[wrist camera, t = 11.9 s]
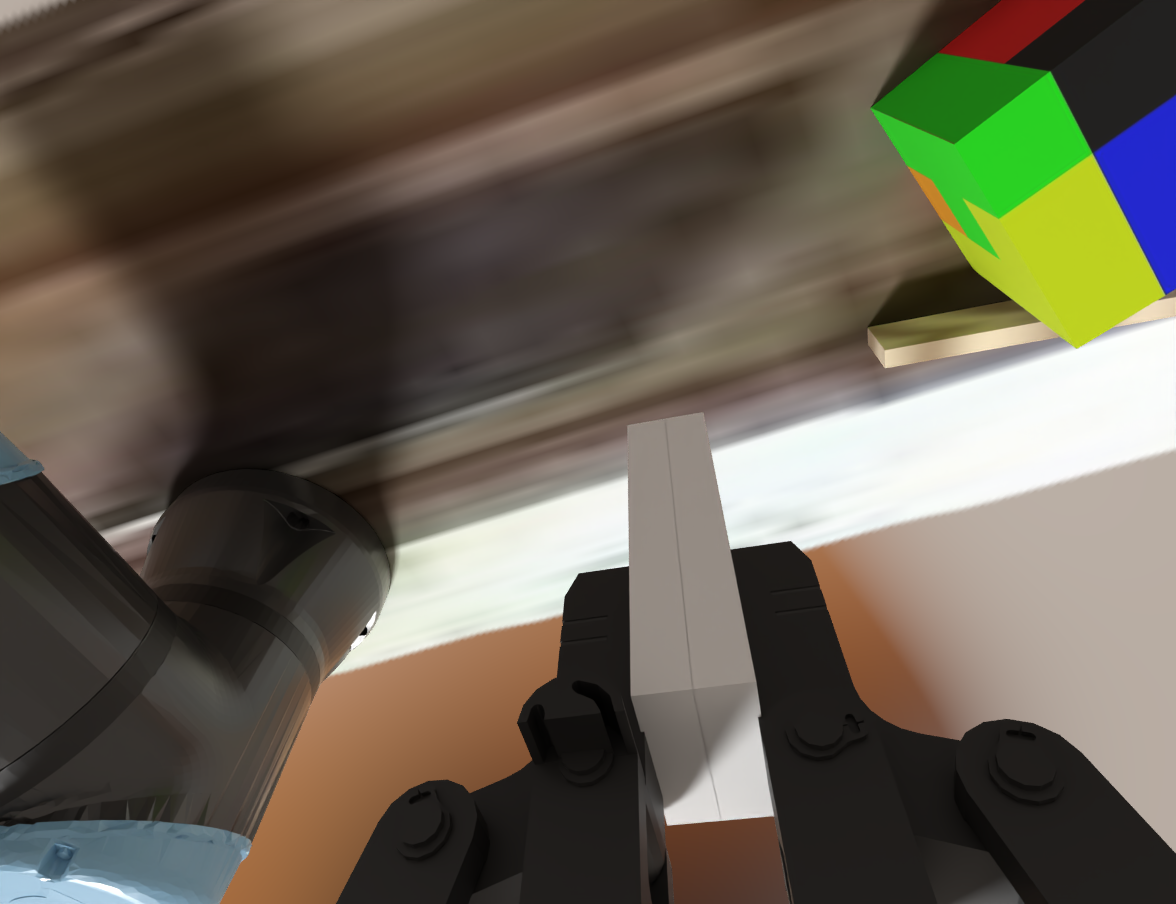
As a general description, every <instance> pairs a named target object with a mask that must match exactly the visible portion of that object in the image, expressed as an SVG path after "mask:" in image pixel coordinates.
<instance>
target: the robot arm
mask: <svg viewBox="0 0 1176 904" xmlns="http://www.w3.org/2000/svg"><path fill="white" fill-rule="evenodd" d="M43 470H44V467H43V466H42V464H41V463H40V462H39V461H36V460H31V459H28V458H27V457H26V456H25V455H24V454H23V453H22V452H21V451H20V450H19V449H18V448H17V447H16V446H15V445H14V444H13V443H12V442H10V441H9V440H8V439H7V438H6V437H5V436H4V435H3V434H2V433H1V432H0V904H219V903H220V901H221V899H222V897H223V895H224V894H225V892H226V890H227V888H228V886H229V884H230V882H231V880H232V878H233V876H234V874H235V872H236V870H237V868H238V866H239V864H240V862H241V861H242V860H244V859H245V858H246V857H247V856H248V854H249V851H250V847H251V846H252V845H251V843H252V841H253V839H254V836H255V834H256V832H257V829H258V827H259V825H260V822H261V820H262V818H263V815H264V813H265V811H266V808H267V806H268V804H269V801H270V799H271V796H272V794H273V792H274V789H275V787H276V785H277V783H278V780H279V778H280V776H281V773H282V771H283V768H284V766H285V764H286V761H287V759H288V757H289V754H290V752H291V750H292V747H293V745H294V743H295V740H296V738H297V736H298V733H299V731H300V729H301V726H302V724H303V722H304V719H305V717H306V715H307V712H308V710H309V707H310V705H311V703H312V700H313V698H314V696H315V694H316V692H317V689H318V688H319V685H320V684H321V683H322V682H323V681H324V680H325V679H326V678H327V677H328V676H329V675H330V674H331V673H332V672H333V671H334V670H335V669H336V668H337V667H338V665H339V664H340V663H341V662H342V661H343V660H344V659H345V657H346V656H347V655H348V653H349V652H350V651H351V650H353V649H354V648H355V647H356V646H358V645H359V644H360V643H361V642H362V641H363V640H364V639H365V638H366V637H367V635H368V634H369V633H370V631H371V630H372V628H373V627H374V625H375V624H376V622H377V620H378V618H379V615H380V613H381V610H382V608H383V605H384V603H385V600H386V598H387V595H388V591H389V586H390V568H389V563H388V559H387V556H386V553H385V550H384V548H383V546H382V544H381V542H380V540H379V538H378V537H377V535H376V534H375V532H374V531H373V529H372V528H371V527H370V525H369V524H368V523H367V522H366V521H365V520H364V519H363V517H362V516H361V515H360V514H359V513H358V512H356V511H355V510H354V509H353V508H352V507H351V506H349V505H348V504H347V503H346V502H344V501H343V500H342V499H340V498H339V497H337V496H336V495H334V494H332V493H331V492H329V491H327V490H325V489H324V488H322V487H320V486H318V485H316V484H313V483H311V482H309V481H306V480H304V479H301V478H298V477H295V476H291V475H288V474H284V473H280V472H274V471H268V470H258V469H239V470H230V471H224V472H220V473H216V474H213V475H210V476H207V477H205V478H202V479H200V480H198V481H197V482H195V483H193V484H192V485H190V486H189V487H188V488H187V489H185V490H184V491H183V492H182V493H181V494H180V495H179V496H178V497H177V499H176V500H175V501H174V502H173V503H172V504H171V505H170V506H169V508H168V509H167V510H166V511H165V512H164V513H163V514H162V516H161V517H160V519H159V520H158V522H157V523H156V525H155V527H154V529H153V531H152V534H151V537H150V541H149V545H148V550H147V558H146V560H145V563H144V566H143V568H142V571H141V574H140V576H139V575H138V574H137V573H136V572H135V571H134V570H133V569H132V568H131V567H130V566H129V564H128V563H127V562H126V561H125V560H124V559H123V558H122V557H121V556H120V555H119V554H118V553H117V552H116V551H115V550H114V549H113V547H112V546H111V545H110V544H109V543H108V542H107V541H106V540H105V539H104V538H103V537H102V536H101V535H100V534H99V533H98V532H97V530H96V529H95V528H94V527H93V526H92V525H91V524H90V523H89V522H88V521H87V520H86V519H85V518H84V517H83V516H82V515H81V513H80V512H79V511H78V510H77V509H76V508H75V507H74V506H73V505H72V504H71V503H70V502H69V501H68V500H67V499H66V498H65V497H64V495H63V494H62V493H61V492H60V491H59V490H58V489H57V488H56V487H55V486H54V485H53V484H52V483H51V482H50V481H49V480H48V478H47V477H46V476H45V475H44V474H43V473H42V472H41V471H43ZM628 510H629V566H628V567H621V568H614V569H607V570H600V571H593V572H586V573H579V574H578V576H577V577H576V579H575V581H574V582H573V584H572V586H571V587H570V589H569V591H568V592H567V594H566V595H565V599H564V610H563V620H562V621H563V626H562V630H561V641H560V642H561V647H560V651H559V661H558V671H557V678H555V679H553V680H551V681H549V682H548V683H546V684H544V685H543V686H541V687H540V688H538V689H537V690H536V691H535V692H534V693H533V694H532V696H531V697H530V698H529V699H528V700H527V701H526V703H525V704H524V705H523V708H522V711H521V713H520V716H519V719H518V722H517V724H518V726H519V729H520V731H521V733H522V736H523V738H524V740H525V743H526V745H527V748H528V750H529V752H530V755H531V757H532V761H531V762H530V763H528V764H527V765H526V766H525V767H524V768H522V769H521V770H520V771H518V772H516V773H514V774H512V775H511V776H509V777H507V778H505V779H502V780H500V781H498V782H495V783H493V784H491V785H488V786H486V787H484V788H481V789H479V790H477V791H474V792H472V793H469V792H468V791H467V790H466V789H465V787H464V786H462V785H460V784H457V783H455V782H452V781H449V780H437V781H428V782H425V783H423V784H420V785H418V786H416V787H413V788H411V789H409V790H408V791H407V792H405V793H404V794H403V795H401V796H400V797H399V798H398V799H397V800H395V801H394V802H393V803H392V804H391V805H390V807H389V808H388V809H387V811H386V812H385V814H384V815H383V816H382V818H381V819H380V821H379V822H378V824H377V826H376V828H375V830H374V832H373V834H372V836H371V837H370V840H369V842H368V843H367V845H366V847H365V849H364V851H363V853H362V855H361V857H360V859H359V861H358V862H357V864H356V866H355V868H354V870H353V872H352V874H351V876H350V878H349V880H348V882H347V884H346V885H345V887H344V889H343V891H342V893H341V895H340V897H339V899H338V901H337V903H336V904H674V897H673V880H672V868H671V864H670V860H669V856H668V852H667V849H666V845H665V825H664V814H665V818H666V821H667V825H677V824H688V823H699V822H711V821H722V820H733V819H745V818H756V817H767V816H774V818H775V824H776V829H777V834H778V840H779V847H780V854H781V859H782V867H783V873H784V880H785V887H786V891H787V893H788V899H789V904H1176V853H1175V852H1174V851H1173V850H1172V849H1171V848H1170V847H1169V846H1168V845H1167V844H1166V843H1165V841H1164V840H1163V839H1162V838H1161V837H1160V836H1159V835H1158V834H1157V833H1156V832H1155V831H1154V830H1153V829H1152V828H1151V826H1150V825H1149V824H1148V823H1147V822H1146V821H1145V820H1144V819H1143V818H1142V817H1141V816H1140V815H1139V814H1138V813H1137V811H1136V810H1135V809H1134V808H1133V807H1132V806H1131V805H1130V804H1129V803H1128V802H1127V801H1126V800H1125V799H1124V798H1123V797H1122V795H1121V794H1120V793H1119V792H1118V791H1117V790H1116V789H1115V788H1114V787H1113V786H1112V785H1111V784H1110V783H1109V781H1108V780H1107V779H1106V778H1105V777H1104V776H1103V775H1102V774H1101V773H1100V772H1099V771H1098V770H1097V769H1096V768H1095V767H1094V765H1093V764H1092V763H1091V762H1090V761H1089V760H1088V759H1087V758H1086V757H1085V756H1084V755H1083V754H1082V753H1081V752H1080V751H1079V750H1078V749H1076V748H1075V747H1074V746H1073V745H1071V744H1070V743H1069V742H1068V741H1066V740H1065V739H1064V738H1063V737H1061V736H1060V735H1058V734H1056V733H1054V732H1052V731H1050V730H1047V729H1045V728H1043V727H1041V726H1038V725H1036V724H1034V723H1028V722H1022V721H1016V720H1010V719H1003V720H996V721H989V722H983V723H981V724H979V725H978V726H976V727H974V728H973V729H971V730H969V731H968V732H966V733H965V734H964V736H963V738H962V740H961V741H959V740H954V739H948V738H942V737H937V736H931V735H925V734H920V733H916V732H912V731H908V730H905V729H901V728H899V727H897V726H895V725H893V724H891V723H889V722H886V721H885V720H883V719H882V718H881V717H879V716H878V715H876V714H875V713H874V712H872V711H871V710H870V709H869V708H868V707H867V706H866V704H865V703H864V702H863V701H862V700H861V699H860V697H859V695H858V693H857V691H856V690H855V687H854V685H853V683H852V680H851V677H850V674H849V671H848V668H847V665H846V662H845V659H844V656H843V653H842V650H841V647H840V644H839V641H838V638H837V635H836V632H835V630H834V627H833V623H832V620H831V618H830V615H829V612H828V610H827V607H826V603H825V600H824V597H823V594H822V591H821V590H820V585H819V582H818V579H817V576H816V573H815V570H814V567H813V564H812V561H811V560H810V559H809V558H808V557H807V556H806V555H805V554H804V553H803V552H802V551H801V550H800V549H799V548H798V547H797V546H796V545H795V544H793V543H792V542H791V541H788V542H781V543H774V544H767V545H760V546H753V547H746V548H739V549H732V550H730V546H729V541H728V536H727V531H726V526H725V521H724V515H723V510H722V505H721V500H720V495H719V490H718V485H717V480H716V475H715V470H714V465H713V460H712V455H711V449H710V444H709V439H708V434H707V429H706V424H705V419H704V414H703V412H702V413H696V414H690V415H684V416H679V417H673V418H667V419H661V420H656V421H650V422H644V423H638V424H632V425H628Z"/></svg>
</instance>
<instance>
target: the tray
mask: <svg viewBox="0 0 1176 904" xmlns="http://www.w3.org/2000/svg"><path fill="white" fill-rule="evenodd" d="M1174 316H1176V289H1175V290H1174V291H1172V292H1170V293H1169V294H1167V295H1165V296H1164V297H1162V298H1160V299H1159V300H1157V301H1155V302H1154V303H1152V304H1150V305H1149V306H1147V307H1145V308H1144V309H1142V310H1140V311H1139V312H1137V313H1135V314H1134V315H1132V316H1130V317H1129V318H1127V319H1126V320H1124V321H1122V322H1121V323H1119V324H1117V325H1116V326H1114V327H1118V326H1123V325H1129V324H1135V323H1140V322H1146V321H1151V320H1157V319H1162V318H1168V317H1174ZM1056 337H1060V336H1059V335H1058V334H1057V333H1055V332H1054V331H1053V330H1051V329H1050V328H1049V327H1047V326H1046V325H1045V324H1044V323H1042V322H1041V321H1040V320H1038V319H1037V318H1036V317H1034V316H1033V315H1032V314H1031V313H1029V312H1028V311H1027V310H1025V309H1024V308H1023V307H1021V306H1020V305H1019V304H1018V303H1016V302H1015V301H1014V300H1010V301H1005V302H1000V303H994V304H989V305H984V306H979V307H973V308H968V309H963V310H957V311H952V312H947V313H941V314H936V315H931V316H925V317H920V318H915V319H910V320H904V321H899V322H894V323H888V324H883V325H878V326H872V327H868V345H869V346H870V348H871V349H872V350H873V352H874V353H875V355H876V356H877V358H878V359H879V360H880V362H881V363H882V365H883V366H884V367H885V368H889V367H895V366H900V365H906V364H911V363H917V362H923V361H928V360H934V359H939V358H945V357H951V356H956V355H962V354H967V353H973V352H978V351H984V350H990V349H995V348H1001V347H1006V346H1012V345H1017V344H1023V343H1029V342H1034V341H1040V340H1045V339H1051V338H1056Z"/></svg>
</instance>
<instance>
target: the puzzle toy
mask: <svg viewBox="0 0 1176 904" xmlns="http://www.w3.org/2000/svg"><path fill="white" fill-rule="evenodd" d="M871 110H872V111H873V113H874V114H875V116H876V118H877V119H878V121H879V122H880V124H881V125H882V127H883V129H884V130H885V132H886V133H887V135H888V136H889V138H890V140H891V141H892V143H893V144H894V146H895V147H896V149H897V150H898V152H899V154H900V155H901V157H902V158H903V160H904V161H905V163H906V165H907V166H908V168H909V169H910V171H911V172H912V174H913V176H914V177H915V179H916V180H917V182H918V183H919V185H920V187H921V188H922V190H923V191H924V193H925V194H926V196H927V198H928V199H929V201H930V202H931V204H932V205H933V207H934V209H935V210H936V212H937V213H938V215H939V216H940V218H941V220H942V221H943V223H944V224H945V226H946V227H947V229H948V230H949V232H950V234H951V235H952V237H953V238H954V240H955V241H956V243H957V245H958V246H959V248H960V249H961V251H962V252H963V254H964V256H965V257H966V259H967V260H968V262H969V263H970V265H971V267H972V268H973V270H975V271H976V272H977V273H979V274H980V275H981V276H983V277H984V278H985V279H986V280H988V281H989V282H990V283H992V284H993V285H994V286H996V287H997V288H998V289H999V290H1001V291H1002V292H1003V293H1005V294H1006V295H1007V296H1009V297H1010V298H1011V299H1012V300H1014V301H1015V302H1016V303H1018V304H1019V305H1020V306H1021V307H1023V308H1024V309H1025V310H1027V311H1028V312H1029V313H1031V314H1032V315H1033V316H1034V317H1036V318H1037V319H1038V320H1040V321H1041V322H1042V323H1044V324H1045V325H1046V326H1047V327H1049V328H1050V329H1051V330H1053V331H1054V332H1055V333H1057V334H1058V335H1059V336H1060V337H1062V338H1063V339H1064V340H1066V341H1067V342H1068V343H1069V344H1071V345H1072V346H1073V347H1075V348H1076V349H1077V348H1079V347H1081V346H1082V345H1084V344H1086V343H1087V342H1089V341H1091V340H1092V339H1094V338H1096V337H1097V336H1099V335H1101V334H1102V333H1104V332H1106V331H1107V330H1109V329H1111V328H1112V327H1114V326H1116V325H1117V324H1119V323H1121V322H1122V321H1124V320H1126V319H1127V318H1129V317H1130V316H1132V315H1134V314H1135V313H1137V312H1139V311H1140V310H1142V309H1144V308H1145V307H1147V306H1149V305H1150V304H1152V303H1154V302H1155V301H1157V300H1159V299H1160V298H1162V297H1164V296H1165V295H1167V294H1169V293H1170V292H1172V291H1174V290H1175V289H1176V0H1001V1H1000V2H999V3H998V4H997V5H995V6H994V7H993V8H992V9H990V10H989V11H988V12H987V13H986V14H984V15H983V16H982V17H981V18H979V19H978V20H977V21H976V22H975V23H973V24H972V25H971V26H970V27H968V28H967V29H966V30H965V31H964V32H962V33H961V34H960V35H959V36H958V37H956V38H955V39H954V40H953V41H951V42H950V43H949V44H948V45H947V46H945V47H944V48H943V49H942V50H940V51H939V52H938V53H937V54H936V55H934V56H933V57H932V58H931V59H929V60H928V61H927V62H926V63H925V64H923V65H922V66H921V67H920V68H919V69H917V70H916V71H915V72H914V73H912V74H911V75H910V76H909V77H908V78H906V79H905V80H904V81H903V82H901V83H900V84H899V85H898V86H897V87H895V88H894V89H893V90H892V91H890V92H889V93H888V94H887V95H886V96H884V97H883V98H882V99H881V100H880V101H878V102H877V103H876V104H875V105H873V106H872V107H871Z"/></svg>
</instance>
